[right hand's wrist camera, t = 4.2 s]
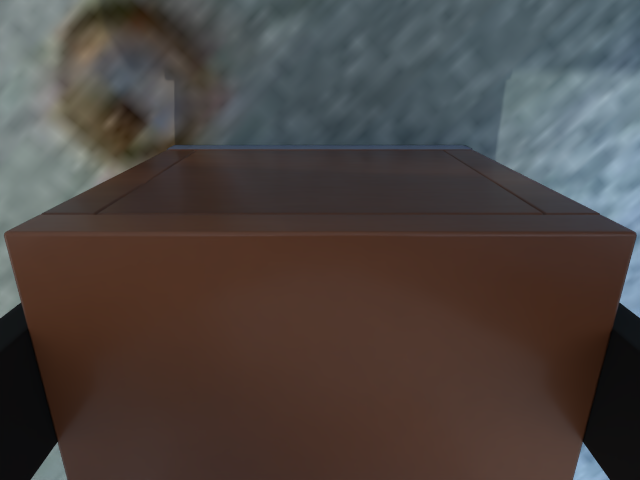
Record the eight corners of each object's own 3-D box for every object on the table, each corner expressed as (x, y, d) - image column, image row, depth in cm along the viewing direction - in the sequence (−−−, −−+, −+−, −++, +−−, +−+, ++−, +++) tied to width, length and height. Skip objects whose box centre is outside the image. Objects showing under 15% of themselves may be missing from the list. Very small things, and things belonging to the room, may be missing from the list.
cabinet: (426, 490, 23) (498, 769, 14) (212, 490, 23) (141, 770, 14) (465, 145, 17) (640, 231, 8) (174, 145, 17) (-1, 231, 8)
